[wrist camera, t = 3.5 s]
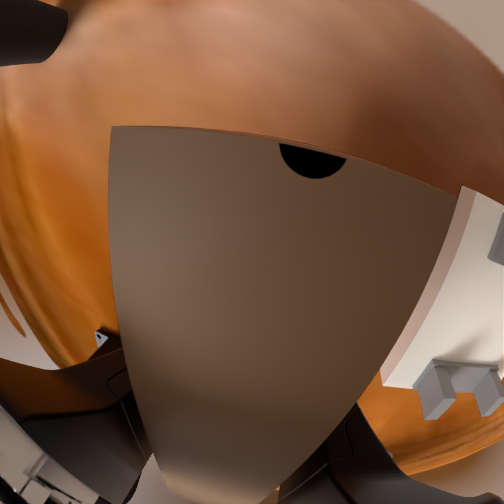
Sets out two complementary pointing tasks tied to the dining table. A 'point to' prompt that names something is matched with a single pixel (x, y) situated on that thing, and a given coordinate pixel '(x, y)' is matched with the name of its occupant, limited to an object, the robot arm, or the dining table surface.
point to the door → (257, 294)
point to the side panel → (458, 316)
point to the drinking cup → (29, 31)
